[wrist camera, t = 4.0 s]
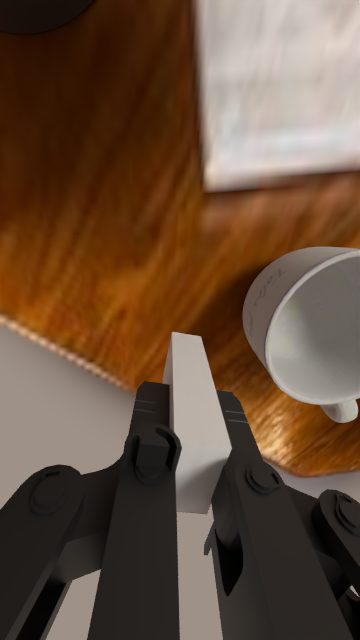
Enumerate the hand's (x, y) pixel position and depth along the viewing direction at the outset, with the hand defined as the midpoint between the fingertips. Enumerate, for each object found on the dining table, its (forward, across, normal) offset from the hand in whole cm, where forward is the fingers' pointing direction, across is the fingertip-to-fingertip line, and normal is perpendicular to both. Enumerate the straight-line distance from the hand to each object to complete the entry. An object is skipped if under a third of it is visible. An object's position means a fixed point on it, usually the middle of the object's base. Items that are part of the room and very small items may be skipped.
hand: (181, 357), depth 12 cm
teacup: (+10, +11, 0) cm, 15 cm away
